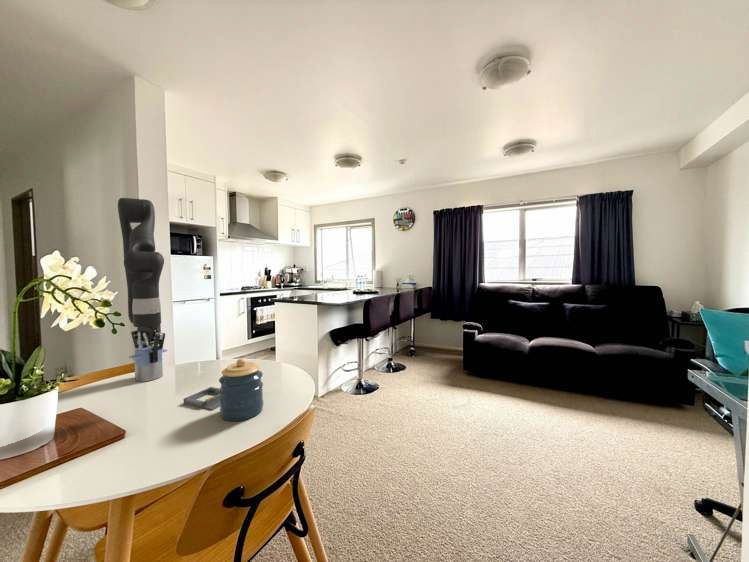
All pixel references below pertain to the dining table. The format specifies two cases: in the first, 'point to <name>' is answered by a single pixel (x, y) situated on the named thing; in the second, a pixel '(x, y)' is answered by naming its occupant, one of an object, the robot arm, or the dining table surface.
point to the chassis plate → (208, 403)
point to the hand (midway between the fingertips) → (149, 361)
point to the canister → (241, 391)
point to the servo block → (145, 356)
